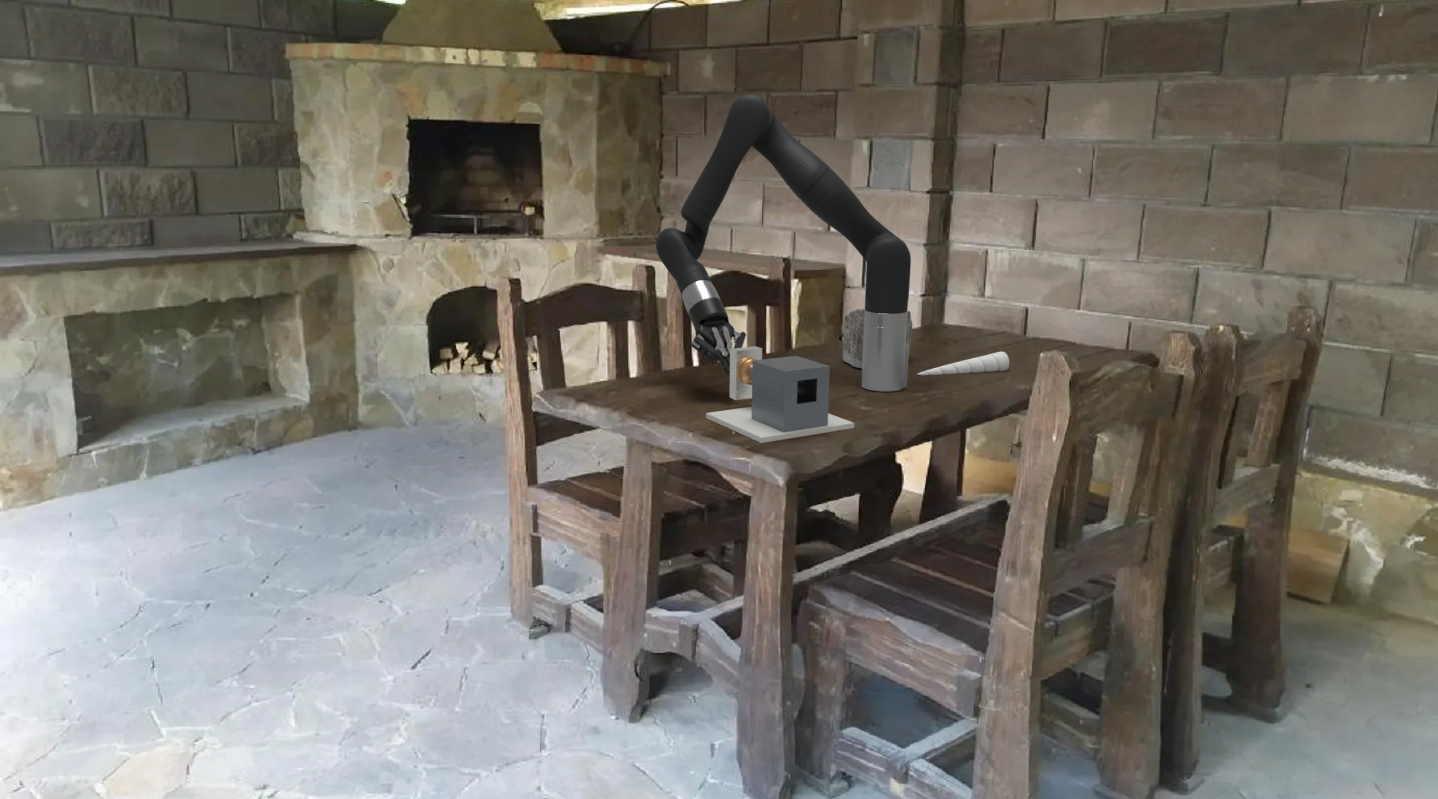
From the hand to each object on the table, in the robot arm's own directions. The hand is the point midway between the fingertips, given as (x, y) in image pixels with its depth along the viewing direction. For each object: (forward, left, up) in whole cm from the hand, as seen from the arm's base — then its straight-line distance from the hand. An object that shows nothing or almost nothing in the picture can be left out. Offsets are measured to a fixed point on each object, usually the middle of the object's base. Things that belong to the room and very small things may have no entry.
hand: (733, 374), depth 212 cm
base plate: (0, +17, -6) cm, 18 cm away
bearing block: (0, +20, -5) cm, 21 cm away
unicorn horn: (-65, 0, -7) cm, 65 cm away
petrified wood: (-53, -18, -7) cm, 56 cm away
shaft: (0, +11, -4) cm, 12 cm away
